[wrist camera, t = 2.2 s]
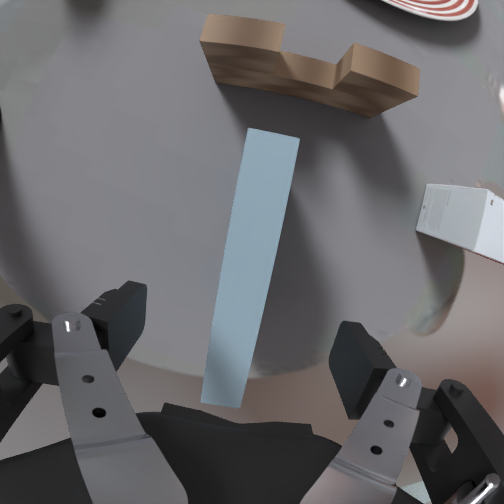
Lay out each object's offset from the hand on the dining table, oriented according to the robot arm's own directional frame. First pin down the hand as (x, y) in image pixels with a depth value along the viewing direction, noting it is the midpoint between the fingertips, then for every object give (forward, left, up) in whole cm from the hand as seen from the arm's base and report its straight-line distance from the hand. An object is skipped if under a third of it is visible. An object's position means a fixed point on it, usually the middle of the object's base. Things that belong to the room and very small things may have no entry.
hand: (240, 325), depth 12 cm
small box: (+22, +7, -19) cm, 30 cm away
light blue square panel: (0, 0, -19) cm, 19 cm away
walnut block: (+2, +16, -19) cm, 25 cm away
